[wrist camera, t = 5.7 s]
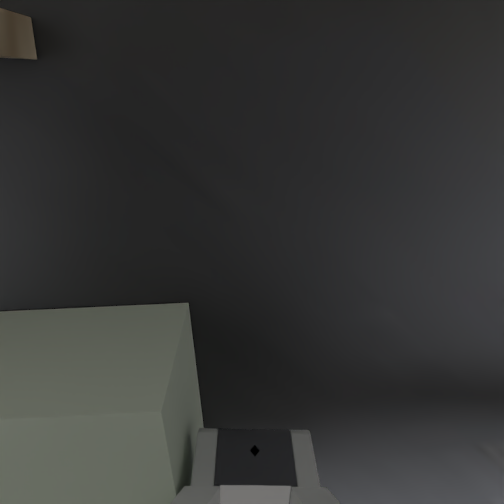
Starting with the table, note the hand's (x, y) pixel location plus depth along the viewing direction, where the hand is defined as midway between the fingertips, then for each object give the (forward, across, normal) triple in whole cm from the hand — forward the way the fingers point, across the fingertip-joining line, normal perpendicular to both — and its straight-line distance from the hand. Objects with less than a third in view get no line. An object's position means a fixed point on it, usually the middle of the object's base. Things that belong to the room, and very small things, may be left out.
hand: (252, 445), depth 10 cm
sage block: (+2, +5, 0) cm, 5 cm away
